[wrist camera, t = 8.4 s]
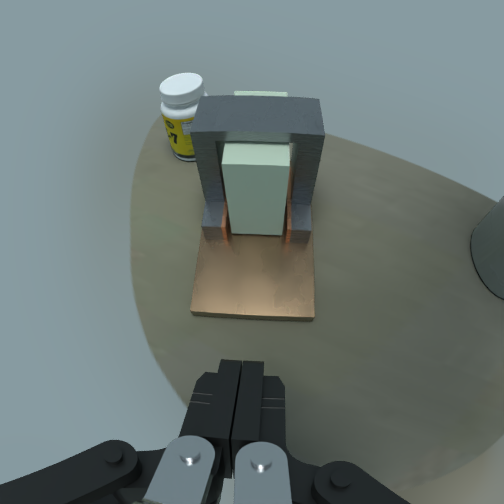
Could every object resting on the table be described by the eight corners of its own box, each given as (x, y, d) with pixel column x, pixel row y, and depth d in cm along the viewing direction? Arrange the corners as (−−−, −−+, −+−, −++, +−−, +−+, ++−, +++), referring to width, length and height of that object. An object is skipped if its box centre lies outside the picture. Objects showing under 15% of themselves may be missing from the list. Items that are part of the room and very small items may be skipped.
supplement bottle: (168, 141, 33) (151, 79, 25) (208, 127, 33) (198, 65, 26) (179, 168, 30) (160, 103, 23) (222, 153, 31) (213, 86, 24)
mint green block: (282, 235, 25) (289, 166, 18) (231, 233, 25) (221, 164, 18) (282, 162, 29) (287, 92, 22) (239, 160, 29) (234, 91, 22)
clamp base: (312, 321, 23) (347, 260, 14) (193, 315, 23) (151, 252, 14) (306, 169, 30) (320, 80, 21) (215, 166, 30) (201, 77, 21)
